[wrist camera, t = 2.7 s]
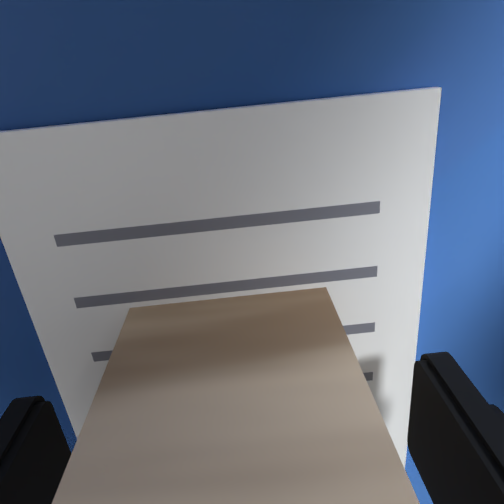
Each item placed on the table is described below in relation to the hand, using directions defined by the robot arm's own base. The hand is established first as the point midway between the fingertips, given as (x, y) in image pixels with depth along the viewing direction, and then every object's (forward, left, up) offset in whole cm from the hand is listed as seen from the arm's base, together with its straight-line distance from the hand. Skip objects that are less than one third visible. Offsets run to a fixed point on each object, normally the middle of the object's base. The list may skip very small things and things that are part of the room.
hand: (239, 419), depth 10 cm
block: (0, 0, -2) cm, 2 cm away
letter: (0, 0, -2) cm, 2 cm away
